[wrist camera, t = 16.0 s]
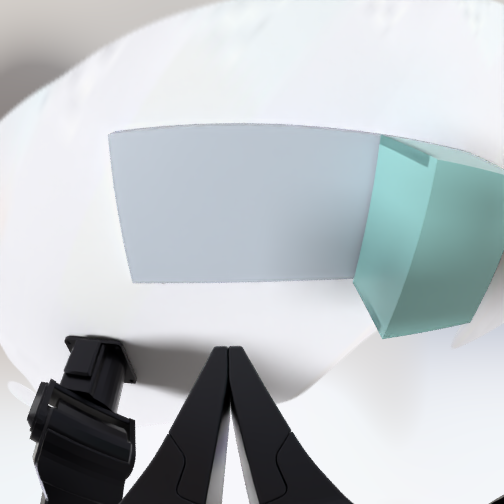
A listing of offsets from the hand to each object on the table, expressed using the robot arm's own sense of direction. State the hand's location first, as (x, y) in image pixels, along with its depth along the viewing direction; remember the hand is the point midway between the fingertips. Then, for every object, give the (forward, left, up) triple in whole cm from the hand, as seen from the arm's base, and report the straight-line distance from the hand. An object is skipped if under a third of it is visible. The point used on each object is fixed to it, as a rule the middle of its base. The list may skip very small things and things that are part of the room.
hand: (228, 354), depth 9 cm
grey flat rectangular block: (0, -5, -12) cm, 13 cm away
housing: (0, -13, -11) cm, 17 cm away
